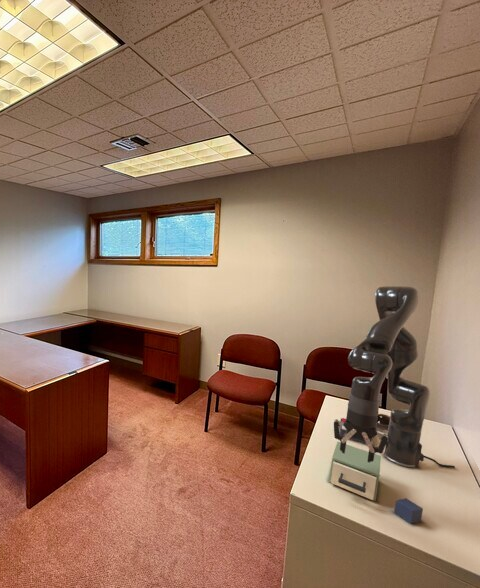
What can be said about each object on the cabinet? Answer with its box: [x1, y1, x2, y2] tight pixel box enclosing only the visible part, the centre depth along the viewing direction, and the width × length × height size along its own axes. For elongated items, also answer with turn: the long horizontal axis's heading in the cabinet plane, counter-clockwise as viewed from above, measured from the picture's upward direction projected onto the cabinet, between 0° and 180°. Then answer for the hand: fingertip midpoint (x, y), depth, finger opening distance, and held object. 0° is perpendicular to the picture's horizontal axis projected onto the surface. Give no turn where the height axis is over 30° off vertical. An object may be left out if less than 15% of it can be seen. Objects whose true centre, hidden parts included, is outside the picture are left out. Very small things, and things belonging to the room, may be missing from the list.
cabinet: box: [328, 440, 382, 502], centre depth 115 cm, size 15×13×10 cm
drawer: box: [331, 462, 377, 501], centre depth 112 cm, size 19×11×8 cm, turn 136°
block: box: [393, 497, 424, 525], centre depth 100 cm, size 4×4×4 cm
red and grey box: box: [339, 417, 373, 445], centre depth 147 cm, size 11×4×15 cm
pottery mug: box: [376, 413, 390, 431], centre depth 154 cm, size 12×10×8 cm
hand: (355, 456), depth 107 cm, fingers open, 6 cm apart
